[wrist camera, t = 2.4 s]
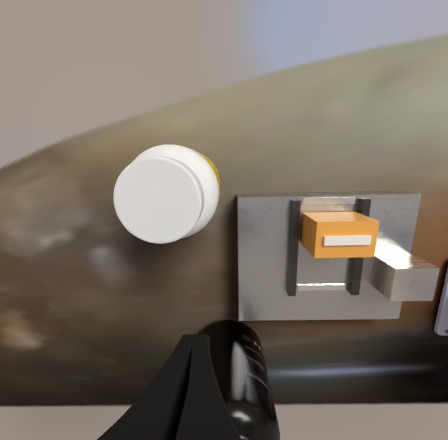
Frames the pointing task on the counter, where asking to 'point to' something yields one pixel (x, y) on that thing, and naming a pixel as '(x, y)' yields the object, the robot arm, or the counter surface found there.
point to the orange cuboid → (339, 234)
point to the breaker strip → (327, 259)
